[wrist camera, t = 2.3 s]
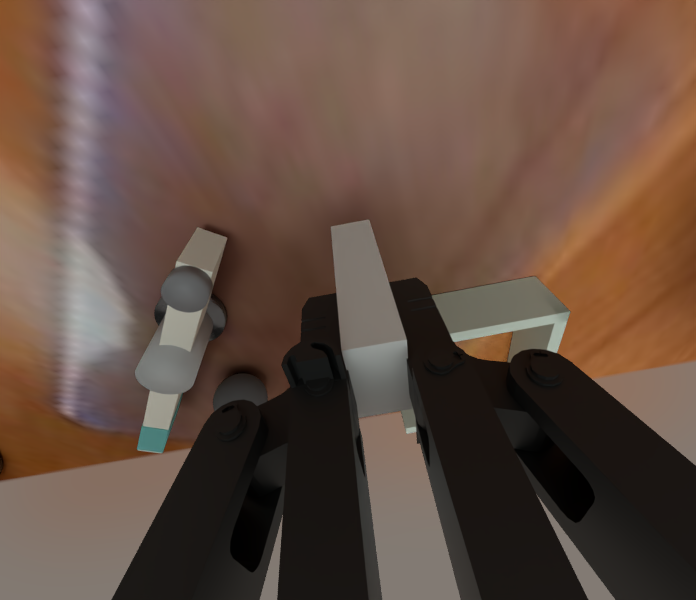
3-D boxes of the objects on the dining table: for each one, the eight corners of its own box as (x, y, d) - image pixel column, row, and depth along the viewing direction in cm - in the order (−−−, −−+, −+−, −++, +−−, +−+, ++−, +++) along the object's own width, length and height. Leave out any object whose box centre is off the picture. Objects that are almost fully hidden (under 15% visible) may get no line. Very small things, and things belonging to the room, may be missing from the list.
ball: (230, 398, 28) (220, 442, 25) (211, 367, 26) (197, 412, 23) (275, 389, 28) (271, 432, 25) (260, 358, 26) (254, 401, 23)
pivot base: (177, 341, 24) (174, 348, 23) (145, 293, 21) (140, 300, 21) (236, 330, 24) (234, 336, 23) (211, 280, 21) (208, 286, 21)
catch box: (396, 393, 30) (406, 433, 27) (385, 304, 24) (397, 343, 21) (513, 371, 30) (538, 410, 27) (535, 275, 23) (570, 311, 20)
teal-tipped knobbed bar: (146, 405, 26) (120, 462, 23) (184, 222, 18) (151, 267, 14) (186, 411, 27) (167, 468, 24) (240, 241, 19) (223, 289, 15)
